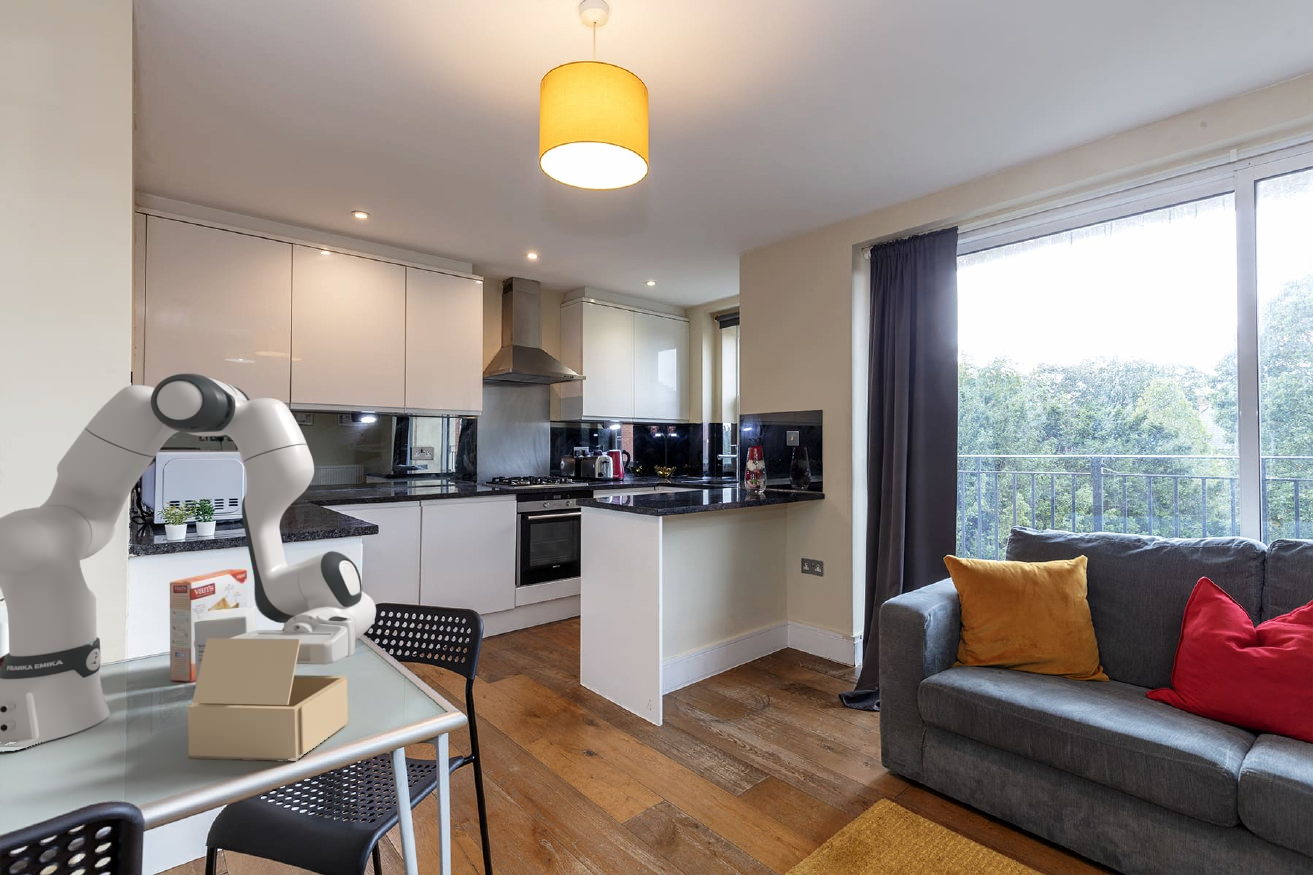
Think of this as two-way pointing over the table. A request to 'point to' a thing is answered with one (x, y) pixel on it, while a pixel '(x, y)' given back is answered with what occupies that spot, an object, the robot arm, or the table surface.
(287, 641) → the flap
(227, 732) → the carton
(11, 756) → the table surface
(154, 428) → the robot arm
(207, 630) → the supplement box
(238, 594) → the cracker box
